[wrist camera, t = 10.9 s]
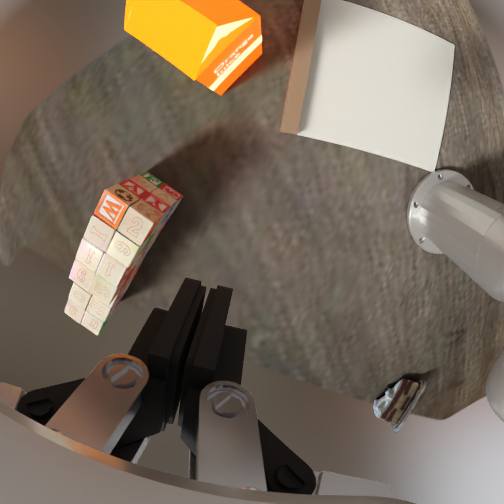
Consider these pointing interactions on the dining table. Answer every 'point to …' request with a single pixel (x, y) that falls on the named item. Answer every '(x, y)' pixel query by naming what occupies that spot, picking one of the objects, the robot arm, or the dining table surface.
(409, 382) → the chocolate cake
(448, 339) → the dining table surface
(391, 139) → the mat
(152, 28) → the orange juice
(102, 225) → the stack of blocks
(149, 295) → the dining table surface
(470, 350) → the dining table surface
